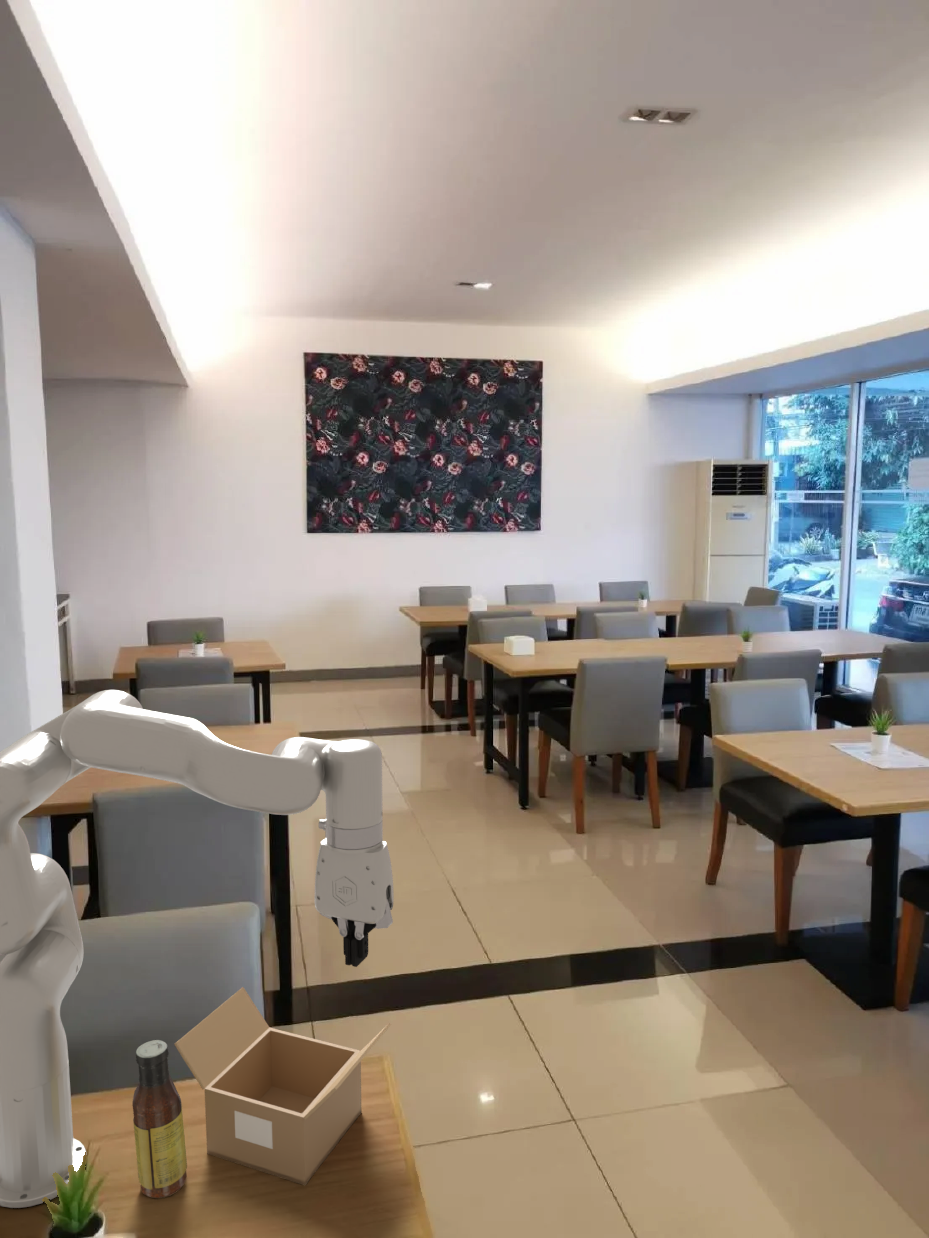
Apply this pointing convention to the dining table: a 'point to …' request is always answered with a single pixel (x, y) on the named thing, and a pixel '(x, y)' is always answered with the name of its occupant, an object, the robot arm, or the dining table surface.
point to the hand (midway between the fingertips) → (356, 961)
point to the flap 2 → (347, 1071)
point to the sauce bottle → (158, 1124)
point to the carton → (282, 1105)
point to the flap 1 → (221, 1037)
